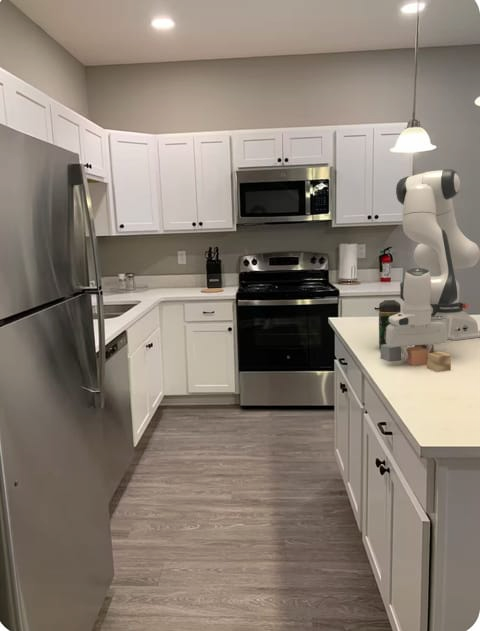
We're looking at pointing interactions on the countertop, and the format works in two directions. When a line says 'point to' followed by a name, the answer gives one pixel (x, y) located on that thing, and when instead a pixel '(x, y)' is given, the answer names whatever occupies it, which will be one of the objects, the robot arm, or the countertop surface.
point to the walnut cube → (425, 348)
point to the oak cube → (439, 361)
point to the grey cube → (390, 353)
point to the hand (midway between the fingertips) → (416, 357)
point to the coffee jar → (386, 317)
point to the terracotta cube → (417, 356)
